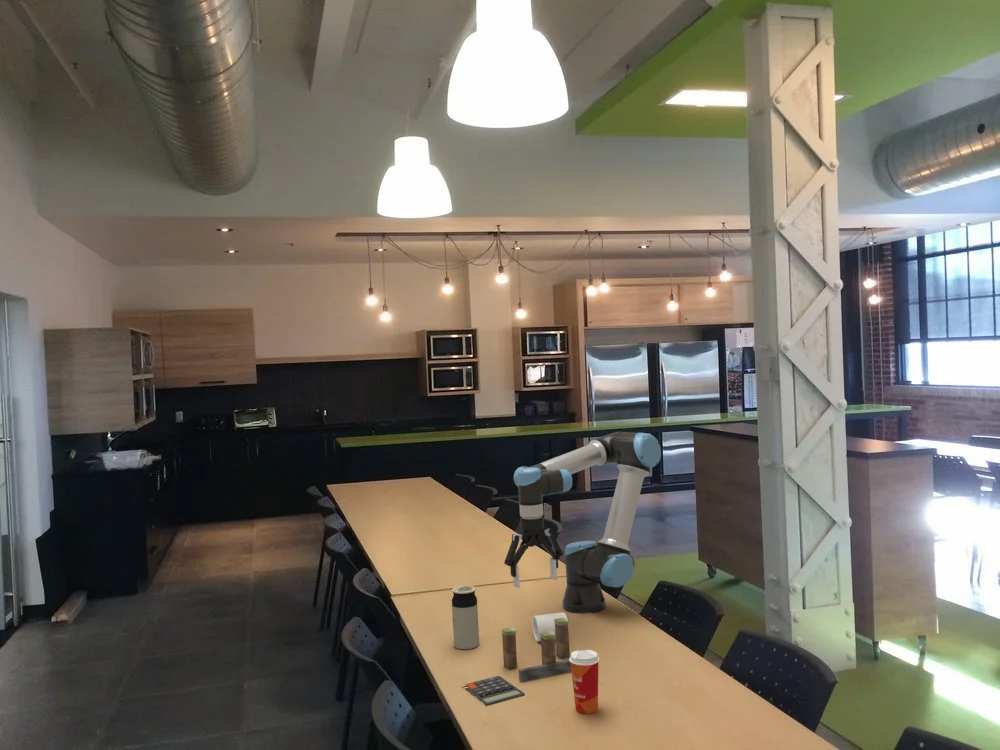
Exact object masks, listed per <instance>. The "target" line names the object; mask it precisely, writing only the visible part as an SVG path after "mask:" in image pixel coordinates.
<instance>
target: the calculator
mask: <svg viewBox="0 0 1000 750" xmlns="http://www.w3.org/2000/svg"><path fill="white" fill-rule="evenodd" d="M463 685H465V684H463ZM464 687H468V688H466V689H467V690H468V691H469V692H471V693H472V694H473V695H474V696H476V697H477V698H478V699H479V700H480V701H479V700H478V699H477V698H476V697H475V698H476V699H477V700H478V701H479V702H481V701H482V702H483V703H484V704H485V705H484V704H483V703H482V702H481V703H482V704H483V705H484V706H487V707H488V706H492V705H495V704H499V703H502V702H503V703H504V702H505V701H510V700H512V699H516V698H520V697H523V696H525V692H523V691H522V690H521V689H519V688H517V687H516V686H515V685H513V684H512V683H511V682H509V681H508V680H506V679H504V678H503V677H501V676H500V675H497V676H492V677H488V678H483V679H480V680H477V681H473V682H469V683H466V686H464ZM466 689H465V690H466ZM467 690H466V691H467ZM468 691H467V692H468ZM469 692H468V693H469ZM471 693H470V694H471ZM472 694H471V695H472ZM473 695H472V696H473ZM474 696H473V697H474Z"/></svg>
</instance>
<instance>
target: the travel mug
mask: <svg viewBox="0 0 1000 750" xmlns="http://www.w3.org/2000/svg"><path fill="white" fill-rule="evenodd" d="M476 589H477V588H476V587H475V586H473V585H459V586H456V587H453V588H452V589H451V591H452V593H453V596H452V599H451V610H452V611H451V612H452V629H453V630H452V631H453V633H452V634H453V646H454V648H455V649H458V650H463V649H464V650H471V649H472V648H473V649H475V648H477V647H478V646H479V645H480V633H479V632H480V629H479V613H478V612H479V611H478V609H479V608H478V597H477V596H476Z"/></svg>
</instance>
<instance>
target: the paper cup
mask: <svg viewBox="0 0 1000 750" xmlns="http://www.w3.org/2000/svg"><path fill="white" fill-rule="evenodd" d="M568 659H569V661H570V662H571V671H572V672H571V679H572V680H571V681H572V688H573V700H574V706H575V710H576V712H577V713H579V714H582V715H589V714H591V715H592V714H594V713H597V711H598V709H599V708H598V707H599V662H600V657H599V654H598V653H597V652H596V651H595V650H591V649H585V650H584V649H580V650H573V652H571V653H570V657H568Z"/></svg>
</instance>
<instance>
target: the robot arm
mask: <svg viewBox="0 0 1000 750" xmlns="http://www.w3.org/2000/svg"><path fill="white" fill-rule="evenodd" d="M661 457H662V450H661V445H660V444H659V440H658V439H657V438H656V437H655V436H654V435H652V434H650V433H646V432H642V431H641V432H627V431H617V432H612V433H609V434H606V435H604V436H600V437H598V438H595V439H592V440H590V441H589V442H588V444H587V445H585V446H581V447H579V448H577V449H574V450H571V451H569V452H566V453H564V454H560V455H559V456H555V457H552V458H551V459H547V460H545V461H542V462H541V463H537V464H534V465H531V466H520V467H517V468H516V470H515V471H514V473H513V482H514V484H515V486H517V488H518V501H519V502H518V504H519V516H520V518H519V521H520V522H519V523H520V525H519V526H520V531H521V532H520V533H519V534H516V533H513V534H511V543H510V545H509V549H508V551H507V554H506V556H505V559H504V565H506V566H508V567H509V569H510V576H511V577H512V579H513V586H514V587H515V588H517V589H518V588H520V587H521V585H520V570H519V569H520V567H519V565H518V563H519V562H520V560H522V559H521V558H522V557H523V555H524V554H525V552H526V551H527V550H528V549H529V548H532V547H534V546H535V547H537V546H541V547H542V548H543V549H544V550H545V551H546V552H547V554H549V555H550V558H549V569H550V570H549V571H550V579H552V580H554V581H557V580H558V575H557V574H558V572H557V571H558V570H557V569H559V559H560V557H563V556H564V560H565V577H566V587H565V591H564V595H563V599H562V608H563V610H566V611H567V612H571V613H579V614H584V613H585V614H590V613H596V612H599V610H600V611H602V610H604V609H605V607H606V599H605V596H604V593H603V590H602V587H601V585H604V586H606V587H609V588H610V587H612V588H621V587H623V586H624V585H626V584H627V583H629V581H630V580H631V578H632V576H633V573H634V569H635V567H634V566H635V565H634V563H633V562H634V561H633V558H632V557H631V556H630V555H631V549H630V548H629V545H628V544H629V540H630V536H631V531H632V528H633V524H634V519H635V515H636V511H637V507H638V503H639V499H640V496H641V495H640V494H641V491H642V486H643V482H644V479H645V478H646V477H647V476H649V475H650V473H651V468H654V467H655V466H657V465H658V464H659V462H661V461H660V460H661ZM606 464H608V465H609V464H616V467H617V469H618V470H619V472H618V477H617V482H616V485H615V489H614V494H613V498H612V502H611V504H610V505H611V506H610V510H609V513H608V516H607V517H608V518H607V520H606V524H605V525H606V526H605V530H604V533H603V536H602V538H601V539H600V540H598V541H596V540H582V541H580V540H579V541H574V542H571V543H568V544H566V546H565V551H564V552H565V553H563V550H562V549H561V547H560V544H559V543H558V541H557V539H556V537H555V535H554V534H555V533H554V529H552V528H549V527H547V528H546V529H544V528H545V521H544V520H545V519H544V517H543V516H544V504H543V502H544V501H543V497H546V496H551V495H556V494H563V493H567V492H568V491H570V490H571V488H572V487H573V476H572V475H573V474H576V473H579V472H581V471H584V470H586V469H588V468H591V467H593V466H603V465H606ZM545 536H546V537H547V539H548V541H549V542H550V544H551V546H552V547H551V546H550V545H549V544H548V542H547V541H546V540H545V539H544V538H545ZM521 540H522V541H521ZM520 541H521V542H520ZM519 543H520V544H519ZM600 584H601V585H600Z"/></svg>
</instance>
